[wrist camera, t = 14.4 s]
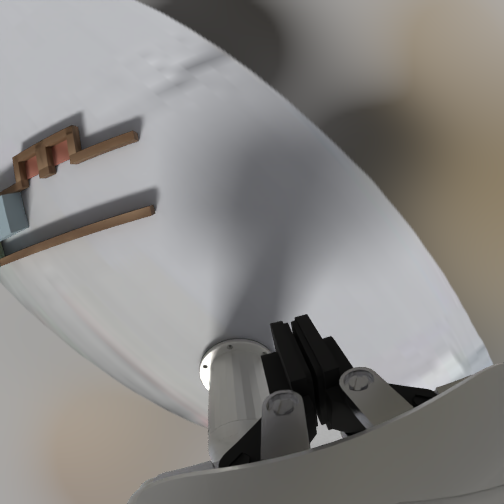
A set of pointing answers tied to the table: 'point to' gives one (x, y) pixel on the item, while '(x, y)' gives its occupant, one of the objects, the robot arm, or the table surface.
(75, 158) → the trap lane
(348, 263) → the table surface
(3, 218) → the slate block
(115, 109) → the table surface
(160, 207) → the table surface
